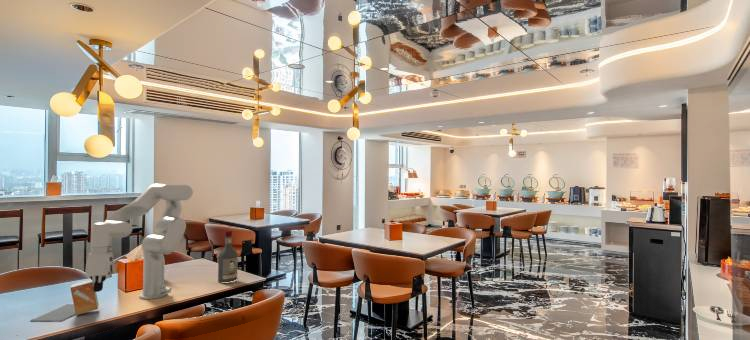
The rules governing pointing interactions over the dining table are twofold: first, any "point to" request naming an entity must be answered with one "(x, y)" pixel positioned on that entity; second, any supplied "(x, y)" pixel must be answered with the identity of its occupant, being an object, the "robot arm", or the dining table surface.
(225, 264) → the liquor
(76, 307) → the small box
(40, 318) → the mat
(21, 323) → the dining table surface
